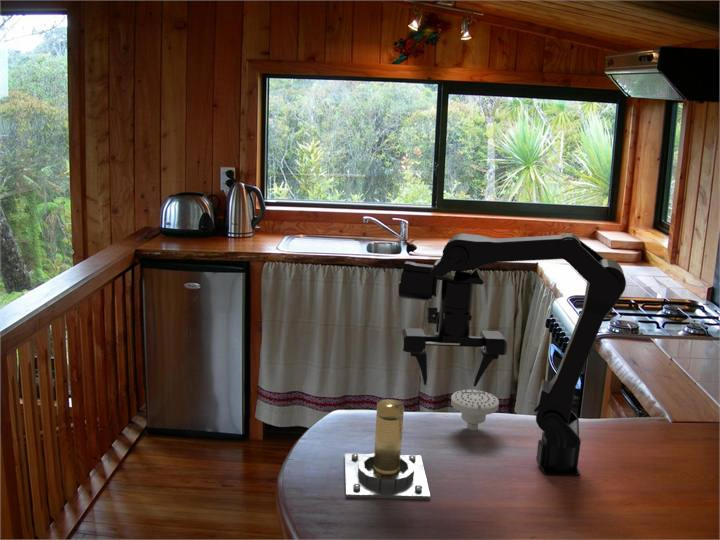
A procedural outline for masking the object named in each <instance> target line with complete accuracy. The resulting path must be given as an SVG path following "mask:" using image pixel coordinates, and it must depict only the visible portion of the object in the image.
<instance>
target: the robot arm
mask: <svg viewBox="0 0 720 540" xmlns="http://www.w3.org/2000/svg"><path fill="white" fill-rule="evenodd" d="M549 260H550V261H551V260H552V261H553V260H564V261H566V262H567V263H568V264H569V265H570V266H571V267H572V268H573V269H574V270H575V271H576V272H577V273H578V274H579V275H580V276H581V277H582V279H584V280H585V281H586V286H585V293H584V297H583V298H584V299H583V304H582V305H583V306H582V308H581V311H580V312H579V313H580V314H579V316H578V318H577V321H576V323H575V325H574V328H573V331H572V333H571V336H570V338H569V341H568V343H567V346H566V348H565V351H564V353H563V356H562V359H561V361H560V364H559V365H558V368H557V371H556V374H555V375H554V376H553V378H552V379H551V380H550V381H548V380H545V379H542V380H541V385H540V390H539V392H538V393H537V394H536V395H535V396H534V405H533V406H534V408H533V412H534V413H535V412H536V415H535V422H536V424H537V426H538V428H539V429H540V430H541V431H542V432H541V439H538V442H537V450H536V451H537V452H536V456H535V457H536V461H537V463H538V465H539V467H540V468H541V470H542V472H543V473H544V474H545V476H546V475H547V476H576V477H577V476H578V477H579V476H580V475H581V471H580V470H579V457H580V450H581V443H582V442H581V441H582V439H581V438H580V418H578V416H577V414H575V413H574V412H573V403H574V397H575V390H576V387H577V385H578V382H579V380H580V377H581V375H582V373H583V370H584V368H585V365H586V363H587V361H588V358H589V356H590V353H591V351H592V348H593V346H594V344H595V341H596V339H597V336H598V333H599V331H600V329H601V326H602V324H603V322H604V320H605V318H606V316H607V315H608V314H609V313H610V312H611V311H612V309H613V308H614V307H615V306H616V304H617V303H618V301H619V299H620V298H621V297H622V295H623V293H624V291H625V290H626V285H627V281H626V277H625V273H624V270H623V268H622V266H621V265H620V264H619V263H618V262H617V261H615V260H613V259H609V258H604V257H603V256H602V255H601V254H599V253H598V252H597V251H596V250H594V249H593V248H591V247H590V246H589V245H587V244H585V243H584V242H583V241H582V240H581V239H580V238H579V237H578V235H576V234H574V233H569V232H567V233H566V232H565V233H563V234H554V235H553V234H552V235H536V236H522V237H521V236H519V237H517V236H515V237H505V238H498V237H497V238H495V237H489V236H485V235H479V234H478V235H477V234H473V233H458V234H455V235H453V236H452V237H451V238H450V239H449V240H448V241H447V243H446V244H445V246H444V248H443V250H442V256H441V257H440V258H438V259H437V260H436V261H435V262H434V264H427V263H426V264H424V263H418V262H417V263H416V262H414V261H408V260H406V261H405V262H404V263H403V265H402V266H403V268H402V272H401V275H400V281H399V283H398V297H399V299H405V300H413V301H419V302H420V301H421V302H430V303H431V302H432V300H433V298H437V297H438V296H439V291H440V284H441V291H440V292H441V293H440V302H439V303H440V305H439V311H438V307H436V306H434V307H432V306H427V307H426V314H425V323H426V325H435V327H434V328H435V332H436V333H437V334H425V332H424V328H417V327H415V328H413V327H404V328H403V329H402V330H401V333H400V344H401V347H402V351H403V352H405V353H409V356H410V357H414V358H416V360H417V363H418V365H419V369H420V374H421V378H422V382H423V385H424V386H427V384H428V383H427V382H428V365H427V364H428V361H427V360H428V359H427V358H428V357H427V356H428V355H427V352H426V346H435V347H436V346H439V347H442V346H443V347H470V348H472V347H473V348H476V360H475V365H474V371H473V375H472V376H473V377H472V386H473V387H477V385H478V383H479V382H480V380H481V378H482V376H483V374H484V373H485V372H486V370H487V368H489V366H490V365H491V363H492V362H493V361H494V360H499V356H505V355H507V352H508V351H507V350H508V343H507V342H508V341H507V340H506V338H505V337H504V335H503V334H502V333H501V332H500V331H499V330H480V333H479V336H474V335H471V334H470V333H471V326H472V325H471V321H472V316H473V313H472V311H473V301H474V289H475V288H474V287H475V285H484V283H485V282H486V276H484V274H482V273H481V272H480V270H479V268H482V267H485V266H488V265H492V264H496V263H510V262H528V261H529V262H530V261H531V262H533V261H549ZM469 270H472V271H469ZM450 272H454V273H450ZM440 281H441V283H440Z"/></svg>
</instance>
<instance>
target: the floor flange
mask: <svg viewBox="0 0 720 540" xmlns="http://www.w3.org/2000/svg"><path fill="white" fill-rule="evenodd" d="M373 467H374V452H373V453H344V471H345V472H344V473H345V474H344V475H345V476H344V477H345V480H344V481H345V497H346V498H350V499H351V498H352V499H354V498H355V499H390V500H391V499H393V500H394V499H396V500H397V499H398V500H399V499H400V500H431V493H430V489H429V485H428V480H427V476H426V472H425V468H424V463H423V458H422V455H418V454H416V455H415V454H401V458H400V473H399V475H398V476H395V477H381V476H378V475H375V474H373Z"/></svg>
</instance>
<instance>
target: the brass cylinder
mask: <svg viewBox="0 0 720 540" xmlns="http://www.w3.org/2000/svg"><path fill="white" fill-rule="evenodd" d="M404 412H405V404H404V403H403V402H402V401H399V400H397V399H396V400H395V399H382V400H379V401H377V403H376V416H375V417H376V418H375V419H376V420H375V432H374V433H375V436H374V451H373V453H374V467H373V474H375V475H378V476H381V477H395V476H398V475H399V473H400V458H401V455H402V442H403V440H402V439H403V428H404V427H403V426H404V415H405V413H404Z"/></svg>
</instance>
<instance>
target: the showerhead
mask: <svg viewBox="0 0 720 540" xmlns="http://www.w3.org/2000/svg"><path fill="white" fill-rule="evenodd" d="M450 397H451V399H450V400H451V401H450V404H451V406H452V407H453V408H454V409H455V410H457V411H458V412H461V419H462V421H464V422H465V423H466V427H467V429H468V430H471V431H478V429H479V425H480V424H482V423H484V422H486V418H487V417H486V416H487V415H492V414H494V413H496V412H498V410H499V405H500V404H499V403H500V401H499V399H498V398H497V397H496V396H495V395H494V394H492V393H489V392H486V391H485V390H479V389H472V388H471V389H462V390H457V391H456V392H454V393H452V395H451V396H450Z"/></svg>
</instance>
